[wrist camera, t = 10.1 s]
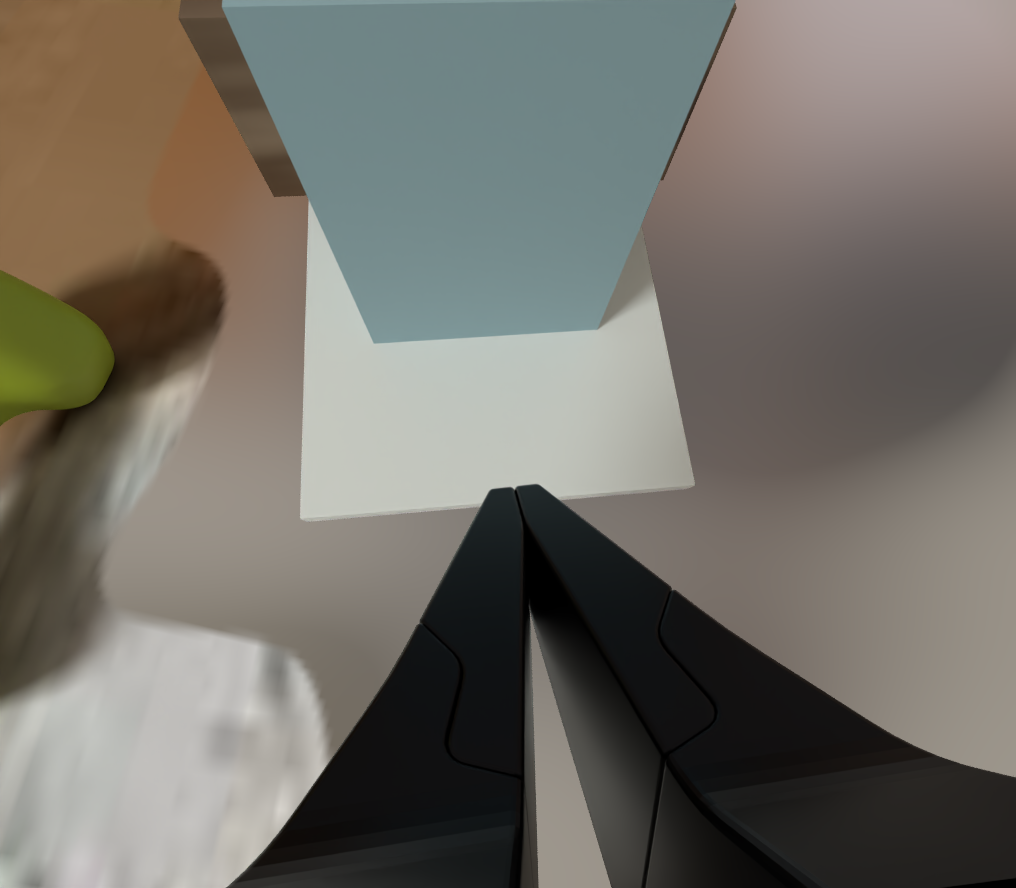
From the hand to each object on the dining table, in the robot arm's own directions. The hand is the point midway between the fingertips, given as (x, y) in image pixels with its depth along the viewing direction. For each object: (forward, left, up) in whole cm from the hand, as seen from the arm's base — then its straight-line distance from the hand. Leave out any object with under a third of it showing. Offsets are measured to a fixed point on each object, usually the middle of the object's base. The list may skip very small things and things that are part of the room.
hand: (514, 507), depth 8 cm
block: (+11, -8, -11) cm, 18 cm away
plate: (+8, -6, -12) cm, 16 cm away
